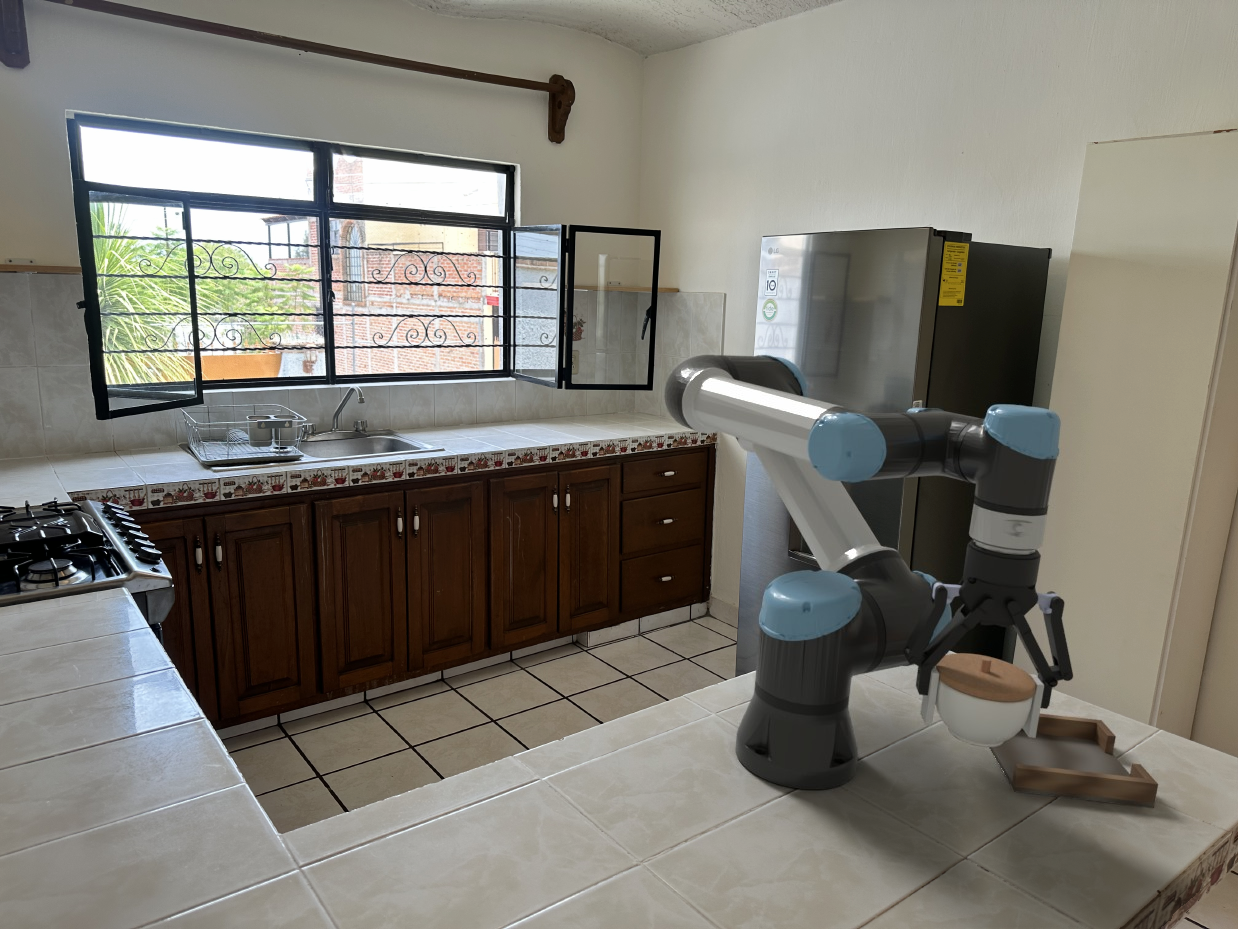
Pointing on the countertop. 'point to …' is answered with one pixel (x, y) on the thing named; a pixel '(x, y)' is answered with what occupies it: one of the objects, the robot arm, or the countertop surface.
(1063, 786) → the holder
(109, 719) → the countertop surface
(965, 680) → the lidded jar
